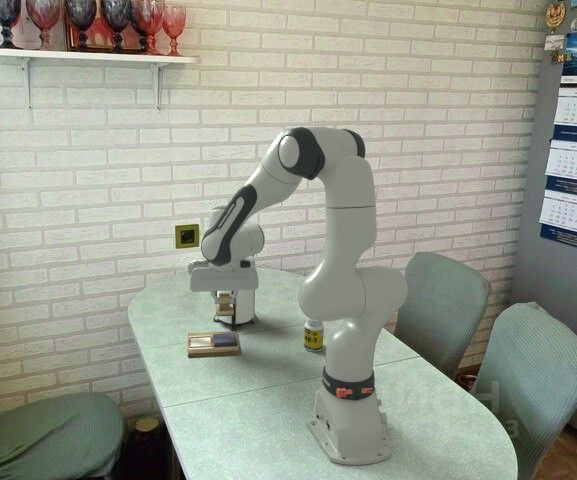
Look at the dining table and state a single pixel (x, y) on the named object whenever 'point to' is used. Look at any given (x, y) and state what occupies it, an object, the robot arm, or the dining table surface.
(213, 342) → the station board
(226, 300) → the stamp
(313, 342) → the supplement bottle
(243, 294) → the coffee press
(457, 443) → the dining table surface
